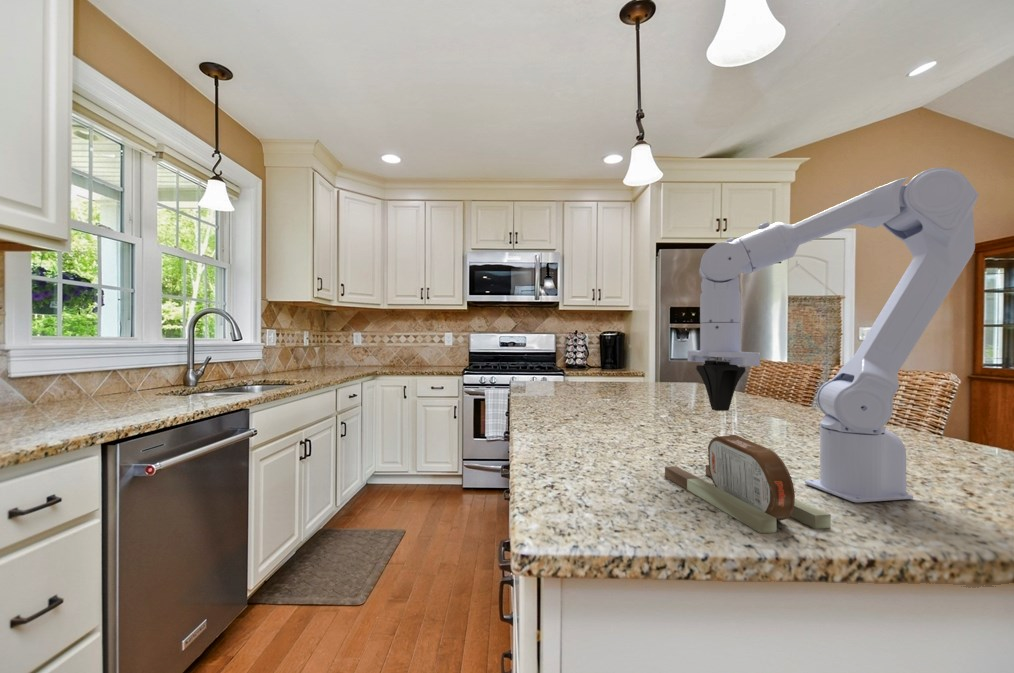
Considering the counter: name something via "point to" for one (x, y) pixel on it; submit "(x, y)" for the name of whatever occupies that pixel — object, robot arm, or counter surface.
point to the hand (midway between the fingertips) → (720, 410)
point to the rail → (744, 504)
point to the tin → (752, 475)
